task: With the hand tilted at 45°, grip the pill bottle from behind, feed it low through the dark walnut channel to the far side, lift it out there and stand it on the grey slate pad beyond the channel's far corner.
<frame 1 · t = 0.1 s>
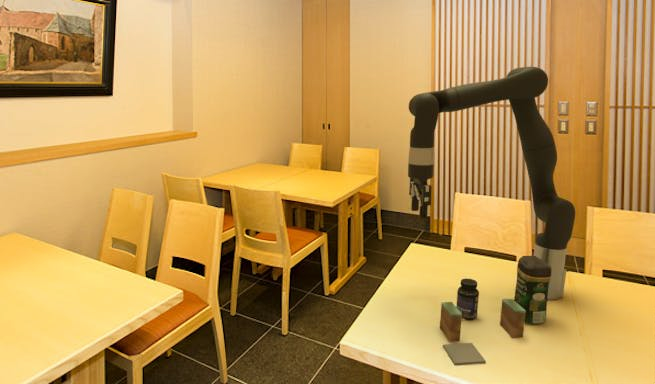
hand: (418, 214, 132), 29 cm above the table, tool pointing down, fingers open, 8 cm apart
slate pad: (463, 354, 110), on the table
walnut channel: (480, 332, 121), on the table
coffee jar: (528, 318, 129), on the table
pill bottle: (466, 316, 130), on the table
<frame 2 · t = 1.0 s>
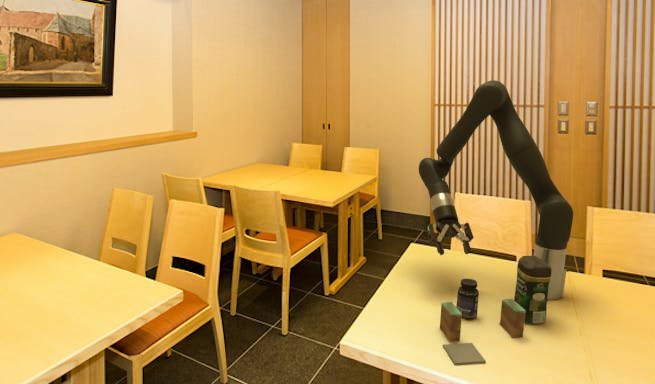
hand: (455, 253, 137), 15 cm above the table, tool tilted 45°, fingers open, 8 cm apart
nothing on the table moved.
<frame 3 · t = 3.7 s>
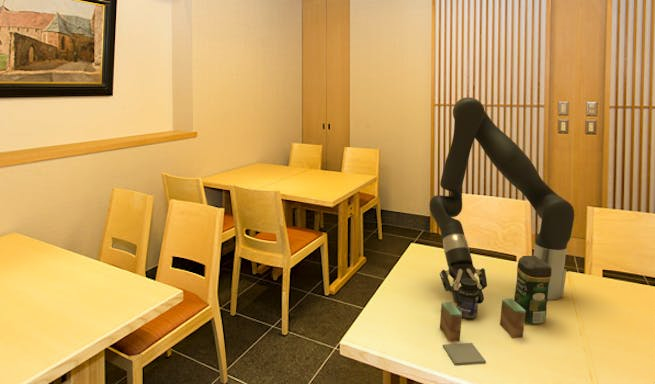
hand: (470, 303, 127), 5 cm above the table, tool tilted 45°, fingers closed on pill bottle, 6 cm apart
pill bottle: (466, 316, 130), on the table, touching gripper
everything else where it was.
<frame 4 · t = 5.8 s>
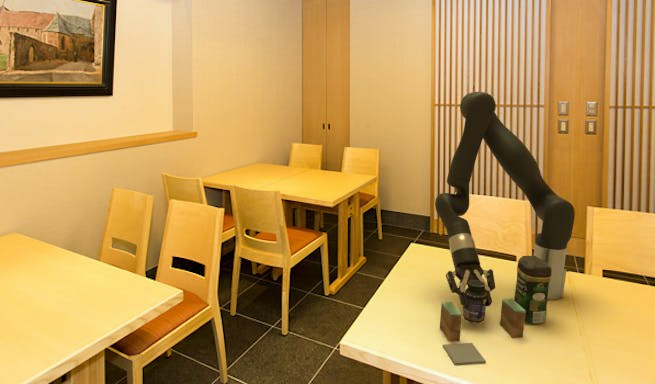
hand: (477, 305, 122), 7 cm above the table, tool tilted 45°, fingers closed on pill bottle, 6 cm apart
pill bottle: (473, 318, 125), point 2 cm above the table, touching gripper
everything else where it was.
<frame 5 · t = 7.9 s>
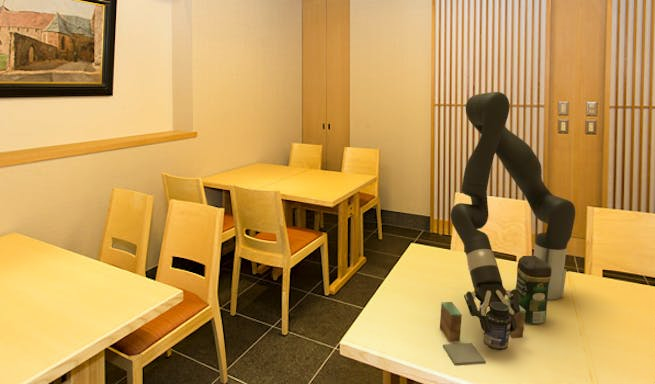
hand: (500, 331, 109), 7 cm above the table, tool tilted 45°, fingers closed on pill bottle, 6 cm apart
pill bottle: (495, 345, 112), point 2 cm above the table, touching gripper
everything else where it was.
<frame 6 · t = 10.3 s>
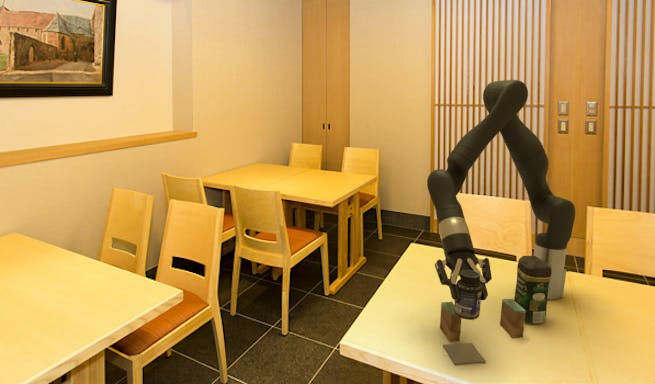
hand: (470, 299, 105), 16 cm above the table, tool tilted 45°, fingers closed on pill bottle, 6 cm apart
pill bottle: (466, 314, 108), point 11 cm above the table, touching gripper
everything else where it was.
when the fingers open (7 cm above the table, at t = 12.6 s): pill bottle drops 1 cm, resting on slate pad.
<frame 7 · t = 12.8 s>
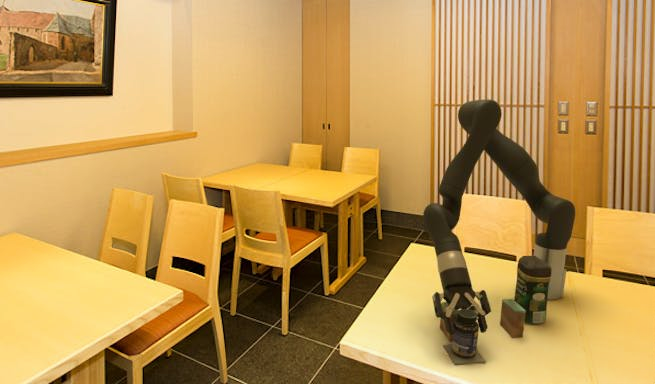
hand: (468, 332, 107), 7 cm above the table, tool tilted 45°, fingers open, 8 cm apart
pill bottle: (463, 352, 110), resting on slate pad
everything else where it was.
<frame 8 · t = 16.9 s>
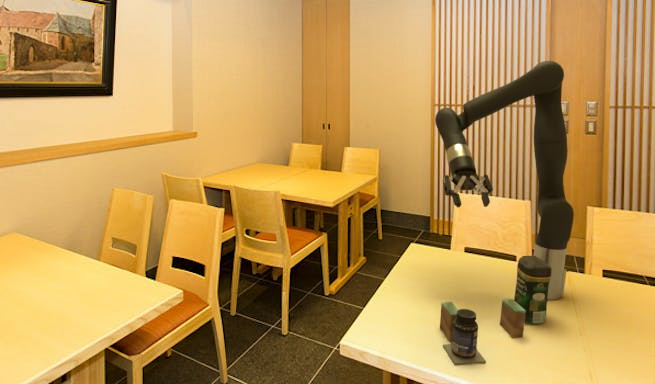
hand: (473, 205, 128), 33 cm above the table, tool tilted 45°, fingers open, 8 cm apart
nothing on the table moved.
at the end: pill bottle inside the target area (0.2 cm from its centre), resting on slate pad; pill bottle tilted 0°; the gripper is holding nothing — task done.
